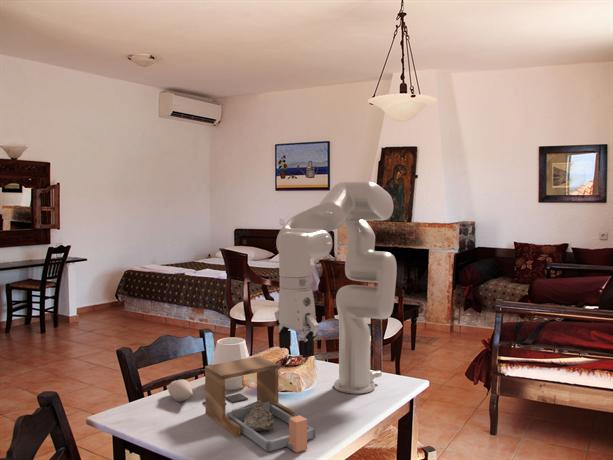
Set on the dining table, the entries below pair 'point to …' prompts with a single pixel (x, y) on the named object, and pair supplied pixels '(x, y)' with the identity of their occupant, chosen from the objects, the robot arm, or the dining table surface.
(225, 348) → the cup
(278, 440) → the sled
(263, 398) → the brown wooden arch frame
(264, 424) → the rock sample
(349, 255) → the robot arm
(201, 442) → the dining table surface
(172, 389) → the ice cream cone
